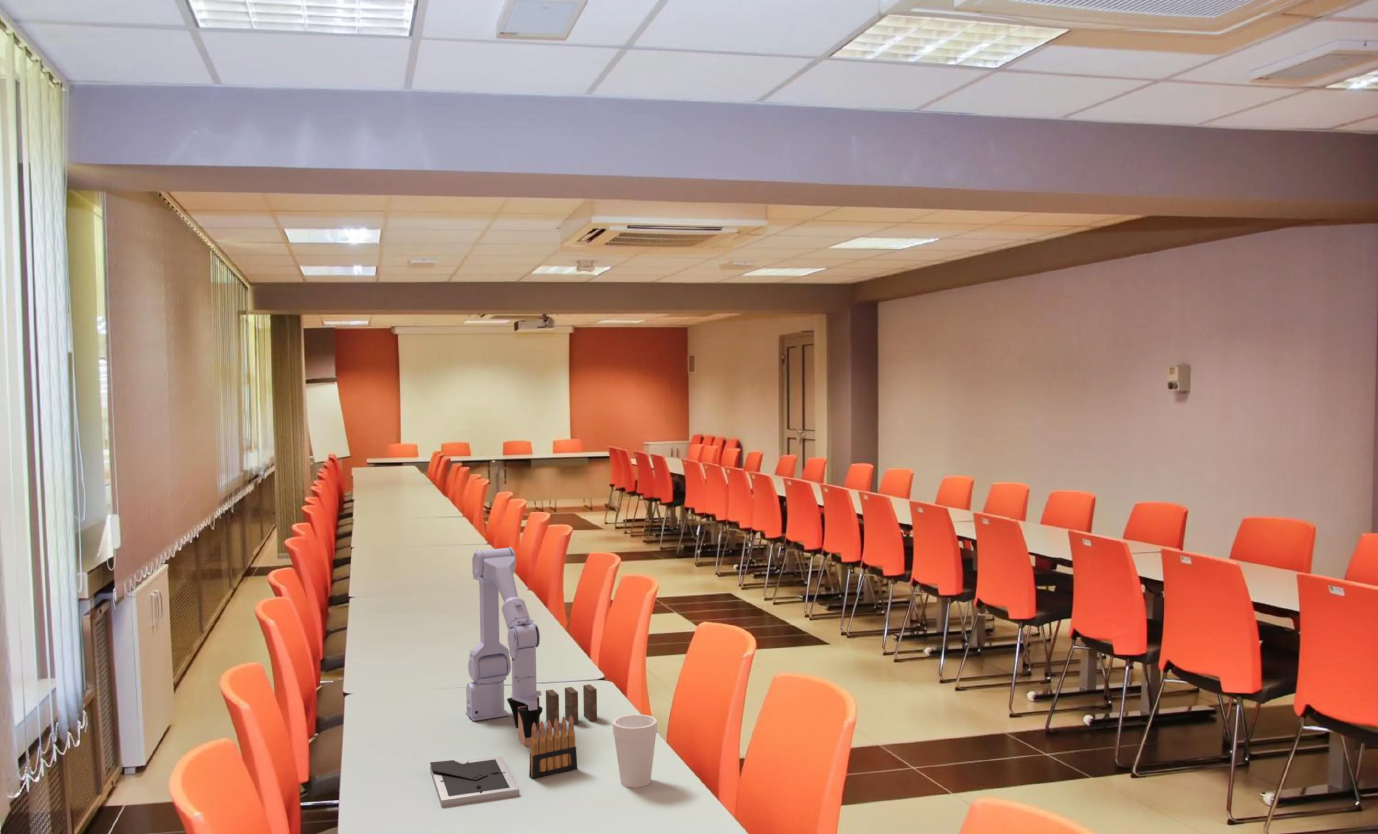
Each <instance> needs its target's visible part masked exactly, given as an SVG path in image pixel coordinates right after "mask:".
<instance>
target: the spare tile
mask: <svg viewBox="0 0 1378 834" xmlns="http://www.w3.org/2000/svg"><path fill="white" fill-rule="evenodd" d="M524 707H525V708H526V706H520V707H518V708H524ZM517 730H518V732H517V733H518V735H517V736H518V741H519V742H520V743H521V745H522V746H523V747H528V746H530V747H531V737H530V738H525V736H524V731H523V724H522V720H521V717H520V714H519V712H518V728H517Z"/></svg>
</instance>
